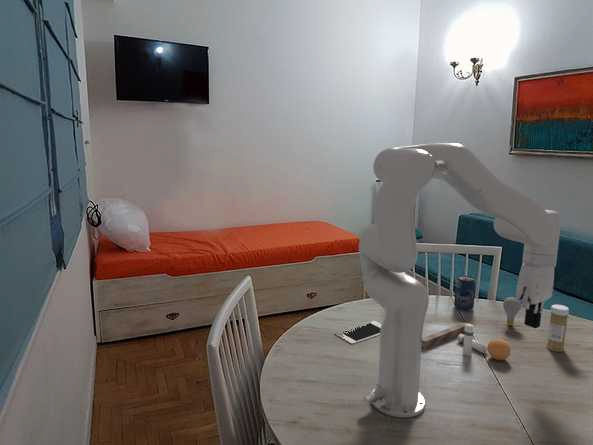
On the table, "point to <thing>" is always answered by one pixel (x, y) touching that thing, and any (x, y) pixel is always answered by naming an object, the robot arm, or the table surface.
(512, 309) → the light bulb
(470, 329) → the side pin
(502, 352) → the ball
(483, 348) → the front pin
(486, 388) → the table surface
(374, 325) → the cell phone
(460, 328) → the brown wooden bar
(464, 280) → the soda can
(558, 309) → the sprinkles bottle
